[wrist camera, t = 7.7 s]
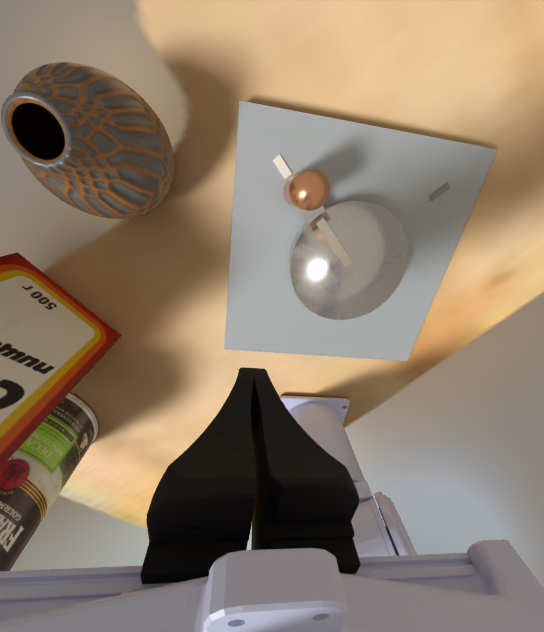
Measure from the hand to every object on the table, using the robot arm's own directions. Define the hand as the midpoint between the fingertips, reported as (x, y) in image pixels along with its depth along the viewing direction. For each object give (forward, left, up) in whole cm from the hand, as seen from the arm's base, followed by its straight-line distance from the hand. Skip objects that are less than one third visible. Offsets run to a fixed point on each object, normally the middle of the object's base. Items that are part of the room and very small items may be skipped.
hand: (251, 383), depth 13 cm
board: (+5, -7, -10) cm, 13 cm away
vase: (+10, +9, -11) cm, 17 cm away
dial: (+6, -6, -9) cm, 12 cm away
